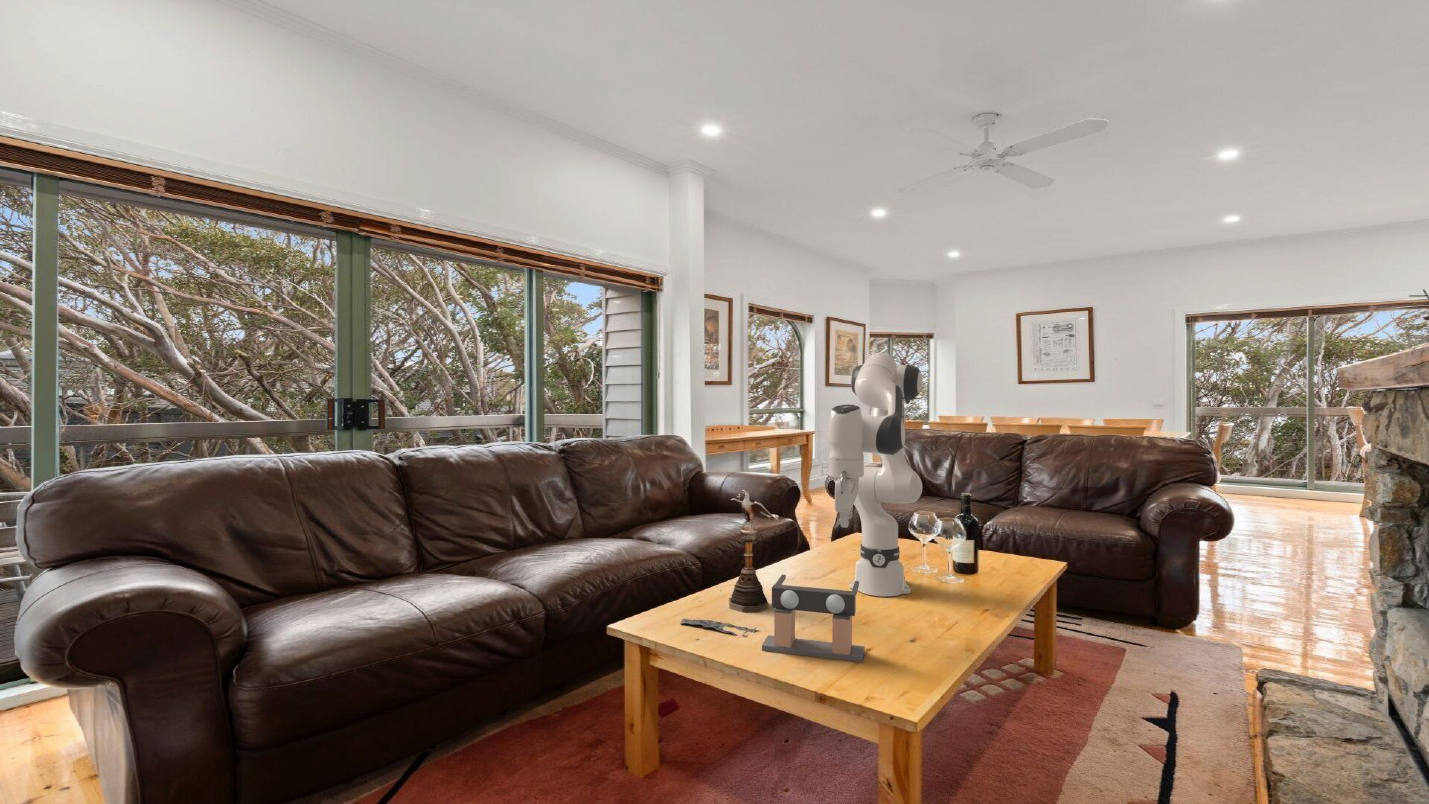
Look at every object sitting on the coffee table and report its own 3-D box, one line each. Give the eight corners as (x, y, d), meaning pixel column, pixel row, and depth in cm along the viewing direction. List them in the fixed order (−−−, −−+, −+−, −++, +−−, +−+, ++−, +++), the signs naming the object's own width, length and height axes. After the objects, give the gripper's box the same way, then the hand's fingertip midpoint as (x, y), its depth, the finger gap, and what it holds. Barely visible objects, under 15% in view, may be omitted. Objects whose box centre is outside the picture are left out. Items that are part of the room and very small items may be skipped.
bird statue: (751, 591, 206) (751, 480, 205) (785, 601, 197) (785, 485, 196) (716, 605, 193) (716, 486, 192) (750, 615, 185) (751, 491, 184)
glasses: (782, 592, 173) (782, 573, 173) (859, 599, 168) (859, 579, 167) (771, 608, 160) (771, 588, 160) (854, 617, 155) (854, 596, 154)
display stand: (768, 639, 167) (768, 600, 166) (864, 651, 159) (864, 610, 159) (761, 650, 160) (761, 609, 160) (862, 662, 153) (862, 620, 153)
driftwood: (676, 626, 178) (676, 618, 178) (689, 618, 184) (689, 610, 184) (745, 642, 167) (745, 633, 167) (757, 633, 173) (757, 625, 173)
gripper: (854, 476, 156) (855, 533, 157) (862, 463, 176) (862, 514, 176) (828, 475, 158) (829, 531, 159) (838, 462, 177) (838, 513, 178)
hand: (846, 522), depth 168 cm, fingers open, 8 cm apart
